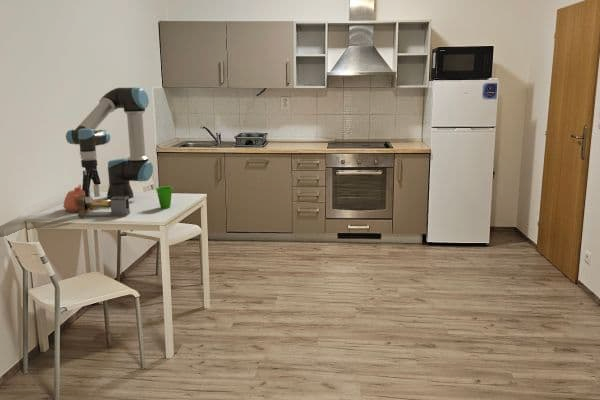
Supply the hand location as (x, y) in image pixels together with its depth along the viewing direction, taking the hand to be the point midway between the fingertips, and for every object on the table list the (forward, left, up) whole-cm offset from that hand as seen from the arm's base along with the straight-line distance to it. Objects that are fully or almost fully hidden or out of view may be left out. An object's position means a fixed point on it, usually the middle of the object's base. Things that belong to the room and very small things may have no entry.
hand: (93, 199), depth 283 cm
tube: (0, +3, -5) cm, 5 cm away
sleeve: (0, +14, -8) cm, 16 cm away
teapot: (-14, -13, -8) cm, 20 cm away
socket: (0, -5, -8) cm, 10 cm away
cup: (-16, +34, -8) cm, 38 cm away
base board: (0, +6, -8) cm, 10 cm away
